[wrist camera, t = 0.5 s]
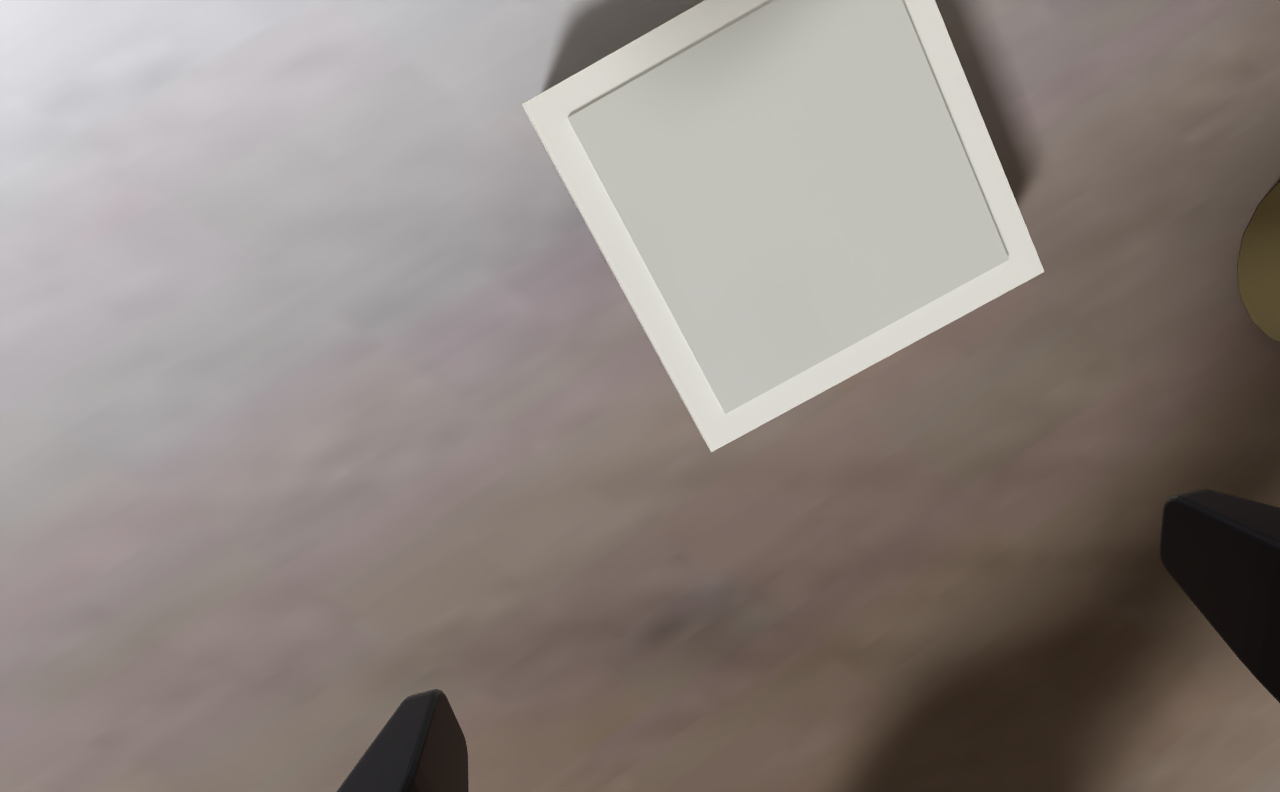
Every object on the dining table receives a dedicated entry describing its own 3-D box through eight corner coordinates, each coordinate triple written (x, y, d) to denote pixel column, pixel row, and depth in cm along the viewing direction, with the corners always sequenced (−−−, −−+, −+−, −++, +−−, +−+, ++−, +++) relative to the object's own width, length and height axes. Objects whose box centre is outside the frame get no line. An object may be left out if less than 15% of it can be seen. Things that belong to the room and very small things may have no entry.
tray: (984, 267, 22) (1047, 272, 19) (695, 424, 23) (712, 453, 20) (847, -57, 20) (894, -110, 17) (530, 123, 21) (521, 103, 18)
